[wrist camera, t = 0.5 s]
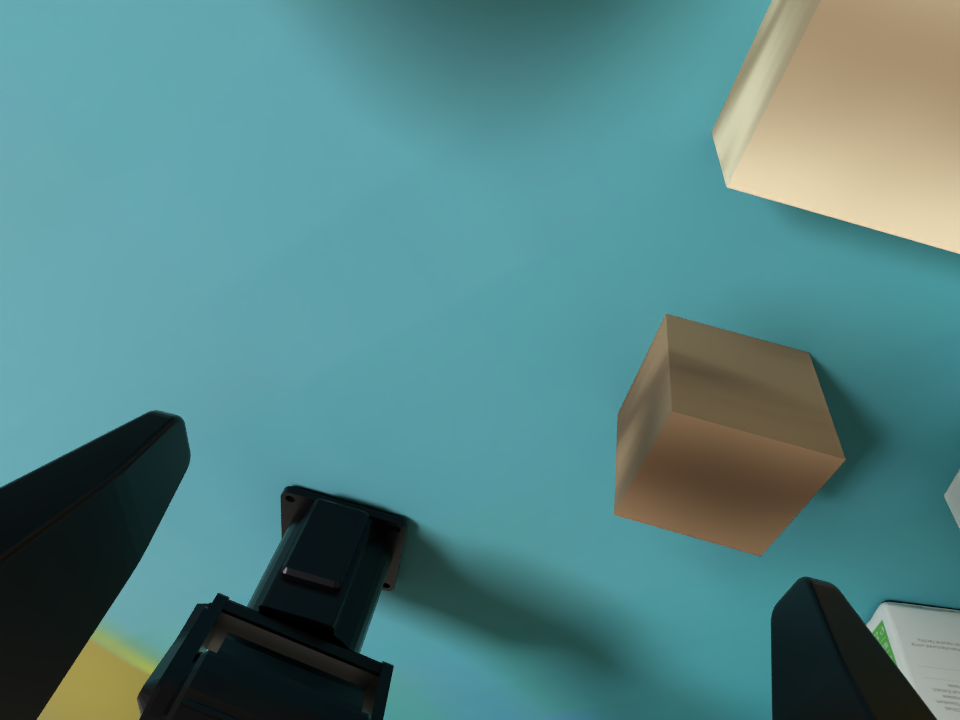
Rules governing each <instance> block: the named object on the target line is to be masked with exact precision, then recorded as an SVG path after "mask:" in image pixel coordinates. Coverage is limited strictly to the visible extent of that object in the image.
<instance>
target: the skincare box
mask: <svg viewBox="0 0 960 720" xmlns="http://www.w3.org/2000/svg"><path fill="white" fill-rule="evenodd" d="M866 626H867V627H868V628H869V630H870V631H871V632H872V634H873V635H874V636H875V638H876V639H877V640H878V642H879V643H880V644H881V646H882V647H883V648H884V650H885V651H886V652H887V654H888V655H889V656H890V658H891V659H892V660H893V661H894V663H895V664H896V665H897V667H898V668H899V669H900V671H901V672H902V673H903V675H904V676H905V677H906V679H907V680H908V681H909V683H910V684H911V685H912V687H913V688H914V689H915V691H916V692H917V693H918V694H919V696H920V697H921V698H922V700H923V701H924V702H925V704H926V705H927V706H928V708H929V709H930V710H931V712H932V713H933V714H934V716H935V717H936V718H937V720H960V611H959V610H952V609H944V608H936V607H928V606H920V605H912V604H904V603H894V602H884V603H882V604H880V606H879V607H878V609H877V610H876V611H875V613H874V615H873V617H872V618H871V620H870V621H869V622H868V623H867V625H866Z"/></svg>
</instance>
